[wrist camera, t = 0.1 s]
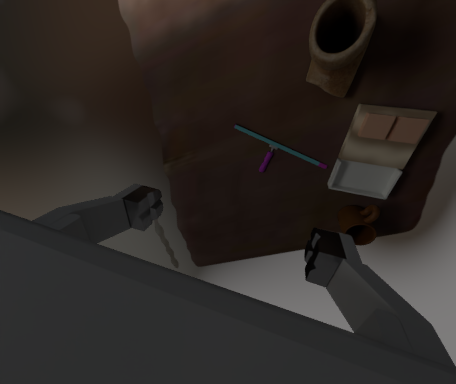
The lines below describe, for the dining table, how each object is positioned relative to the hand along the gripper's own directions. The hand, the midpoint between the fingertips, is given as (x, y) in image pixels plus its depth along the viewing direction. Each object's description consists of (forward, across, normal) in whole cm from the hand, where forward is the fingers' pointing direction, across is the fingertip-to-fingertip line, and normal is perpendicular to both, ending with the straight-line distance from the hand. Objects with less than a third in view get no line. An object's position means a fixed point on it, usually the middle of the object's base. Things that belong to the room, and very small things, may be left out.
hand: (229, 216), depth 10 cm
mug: (+48, -27, +24) cm, 60 cm away
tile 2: (+45, -27, 0) cm, 53 cm away
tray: (+48, -24, +14) cm, 55 cm away
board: (+48, -24, +3) cm, 54 cm away
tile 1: (+45, -21, 0) cm, 50 cm away
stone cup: (+48, -8, -13) cm, 50 cm away
